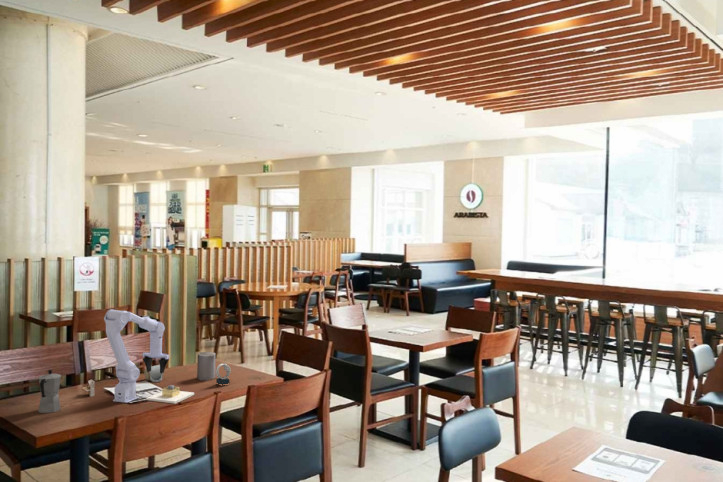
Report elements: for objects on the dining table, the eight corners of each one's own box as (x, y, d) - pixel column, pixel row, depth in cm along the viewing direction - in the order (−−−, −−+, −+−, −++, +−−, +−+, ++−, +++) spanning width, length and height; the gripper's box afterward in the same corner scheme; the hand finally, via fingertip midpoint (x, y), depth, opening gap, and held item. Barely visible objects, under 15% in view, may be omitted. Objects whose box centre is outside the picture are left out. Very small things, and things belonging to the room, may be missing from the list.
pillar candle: (196, 376, 323) (197, 349, 323) (214, 375, 326) (215, 349, 326) (197, 381, 314) (197, 353, 313) (215, 380, 317) (216, 352, 316)
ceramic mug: (143, 379, 315) (143, 365, 315) (158, 377, 320) (158, 363, 320) (150, 383, 307) (150, 369, 306) (165, 381, 312) (166, 367, 312)
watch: (232, 384, 309) (232, 363, 309) (219, 386, 303) (219, 365, 303) (226, 382, 313) (226, 361, 313) (213, 384, 307) (213, 364, 307)
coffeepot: (45, 405, 265) (45, 366, 265) (66, 405, 266) (67, 366, 266) (29, 416, 250) (29, 374, 249) (52, 416, 250) (52, 374, 250)
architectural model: (87, 398, 280) (87, 382, 280) (82, 395, 285) (82, 379, 285) (94, 396, 282) (94, 381, 282) (89, 393, 287) (90, 378, 287)
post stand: (175, 403, 272) (175, 391, 272) (146, 400, 277) (146, 388, 277) (194, 394, 288) (194, 383, 288) (166, 391, 292) (166, 380, 292)
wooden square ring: (172, 397, 279) (172, 390, 279) (162, 396, 281) (162, 388, 280) (179, 394, 284) (179, 387, 284) (169, 393, 286) (169, 386, 286)
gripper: (173, 345, 294) (172, 371, 295) (148, 342, 299) (148, 369, 299) (164, 347, 288) (164, 374, 288) (139, 345, 292) (139, 372, 292)
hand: (155, 372), depth 293 cm, fingers open, 7 cm apart
